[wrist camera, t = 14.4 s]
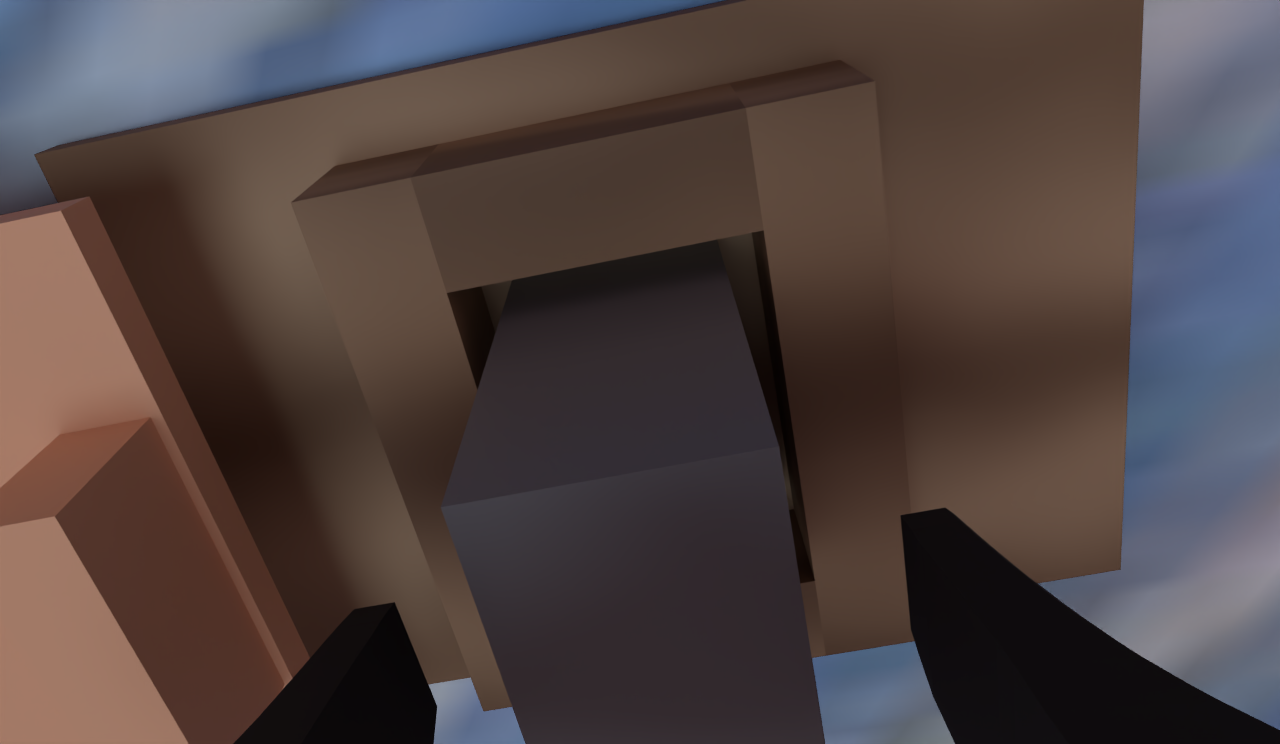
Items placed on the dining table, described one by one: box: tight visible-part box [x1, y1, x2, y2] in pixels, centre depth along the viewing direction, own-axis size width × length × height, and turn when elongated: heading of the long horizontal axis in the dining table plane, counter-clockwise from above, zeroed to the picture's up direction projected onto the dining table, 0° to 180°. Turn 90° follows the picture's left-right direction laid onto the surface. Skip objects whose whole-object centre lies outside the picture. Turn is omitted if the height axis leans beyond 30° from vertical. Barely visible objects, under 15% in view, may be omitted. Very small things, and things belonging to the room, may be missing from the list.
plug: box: [441, 240, 825, 744], centre depth 15 cm, size 6×4×8 cm, turn 11°
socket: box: [35, 0, 1144, 711], centre depth 18 cm, size 14×20×3 cm
